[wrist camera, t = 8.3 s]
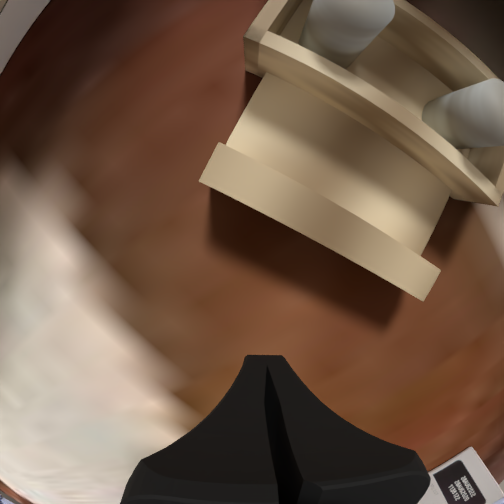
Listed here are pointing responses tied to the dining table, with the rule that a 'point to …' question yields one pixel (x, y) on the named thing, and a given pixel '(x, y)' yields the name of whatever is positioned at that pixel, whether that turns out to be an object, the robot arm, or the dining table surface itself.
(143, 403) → the dining table surface
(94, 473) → the dining table surface
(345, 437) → the robot arm
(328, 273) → the dining table surface
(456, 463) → the container
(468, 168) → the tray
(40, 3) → the gable box
